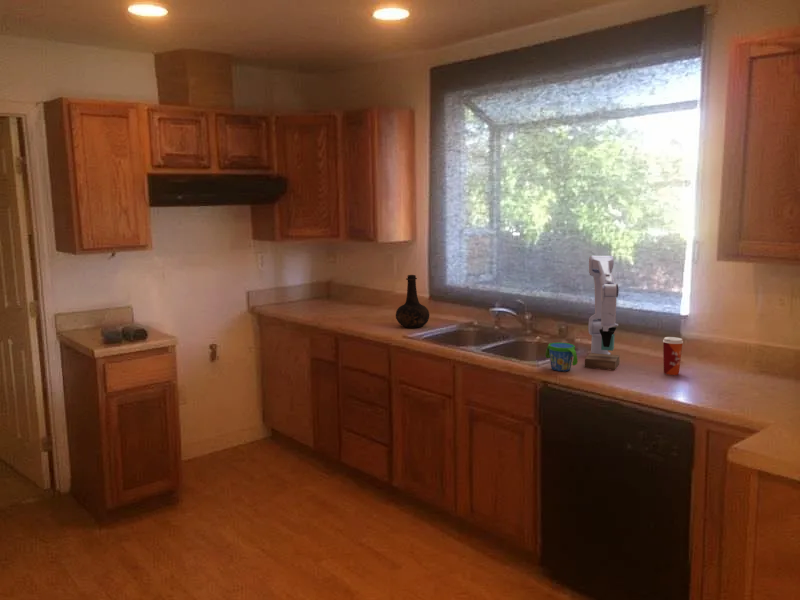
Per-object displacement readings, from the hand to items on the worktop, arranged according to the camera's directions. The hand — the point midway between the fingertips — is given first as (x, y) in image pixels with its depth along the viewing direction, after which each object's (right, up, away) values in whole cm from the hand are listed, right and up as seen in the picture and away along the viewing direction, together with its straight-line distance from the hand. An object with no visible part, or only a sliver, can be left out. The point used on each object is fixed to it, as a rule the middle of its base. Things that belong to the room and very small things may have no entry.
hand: (607, 345), depth 292 cm
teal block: (0, -2, 0) cm, 2 cm away
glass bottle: (-79, +4, +89) cm, 119 cm away
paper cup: (+22, -10, -12) cm, 27 cm away
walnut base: (-2, -9, +1) cm, 9 cm away
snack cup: (-20, -10, -6) cm, 23 cm away
